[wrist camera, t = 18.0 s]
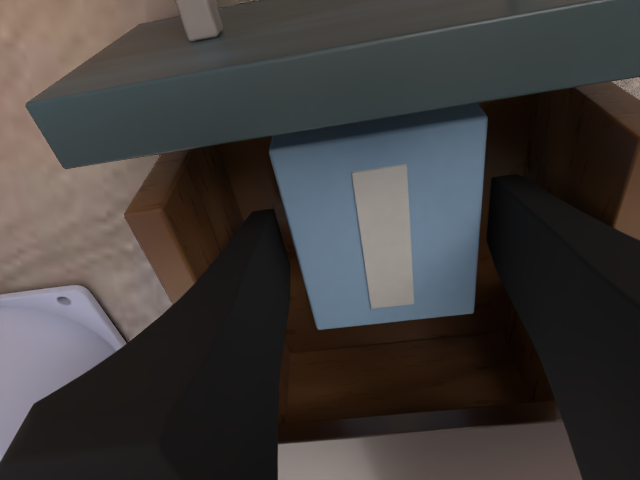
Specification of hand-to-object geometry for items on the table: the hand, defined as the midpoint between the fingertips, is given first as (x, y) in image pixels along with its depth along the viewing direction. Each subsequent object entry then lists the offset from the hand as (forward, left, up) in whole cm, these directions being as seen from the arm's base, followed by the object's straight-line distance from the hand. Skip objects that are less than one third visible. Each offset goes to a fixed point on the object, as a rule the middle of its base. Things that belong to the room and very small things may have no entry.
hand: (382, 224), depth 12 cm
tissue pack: (0, 0, -2) cm, 2 cm away
